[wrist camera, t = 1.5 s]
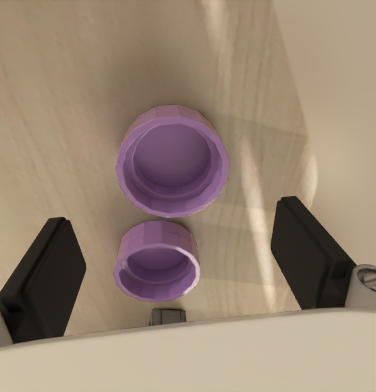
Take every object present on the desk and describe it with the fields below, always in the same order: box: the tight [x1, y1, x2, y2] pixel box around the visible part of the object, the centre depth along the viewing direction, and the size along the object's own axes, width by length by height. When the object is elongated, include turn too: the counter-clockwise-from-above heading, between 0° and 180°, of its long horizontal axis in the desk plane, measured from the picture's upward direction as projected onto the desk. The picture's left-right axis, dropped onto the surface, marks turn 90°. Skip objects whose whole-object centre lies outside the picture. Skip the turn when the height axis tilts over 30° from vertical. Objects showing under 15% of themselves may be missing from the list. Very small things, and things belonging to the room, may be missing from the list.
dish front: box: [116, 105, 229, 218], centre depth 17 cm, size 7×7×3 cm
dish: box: [114, 220, 200, 302], centre depth 21 cm, size 7×7×3 cm
